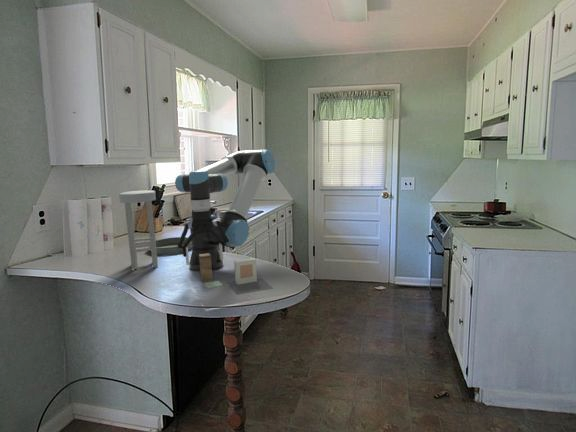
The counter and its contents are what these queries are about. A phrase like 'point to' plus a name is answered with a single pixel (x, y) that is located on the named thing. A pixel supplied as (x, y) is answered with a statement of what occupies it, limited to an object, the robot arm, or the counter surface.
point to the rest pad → (213, 284)
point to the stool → (128, 199)
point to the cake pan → (170, 245)
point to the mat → (250, 286)
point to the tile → (245, 271)
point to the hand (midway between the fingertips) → (204, 262)
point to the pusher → (205, 267)
